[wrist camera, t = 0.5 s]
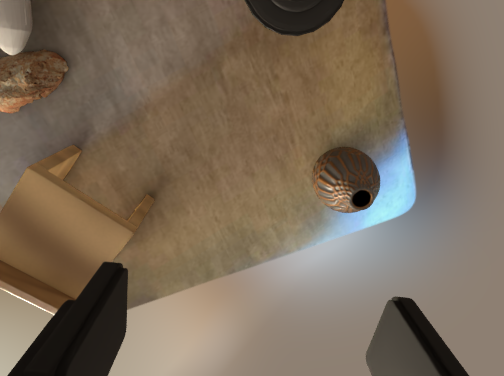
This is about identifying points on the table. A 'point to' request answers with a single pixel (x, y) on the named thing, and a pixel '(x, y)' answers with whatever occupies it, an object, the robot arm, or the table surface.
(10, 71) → the brown rock
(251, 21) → the table surface
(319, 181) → the vase
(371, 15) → the table surface
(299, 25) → the coffee cup
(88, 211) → the shelf
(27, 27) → the rocket model
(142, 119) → the table surface
